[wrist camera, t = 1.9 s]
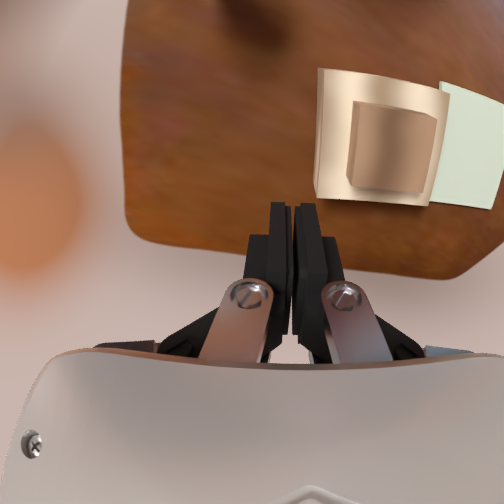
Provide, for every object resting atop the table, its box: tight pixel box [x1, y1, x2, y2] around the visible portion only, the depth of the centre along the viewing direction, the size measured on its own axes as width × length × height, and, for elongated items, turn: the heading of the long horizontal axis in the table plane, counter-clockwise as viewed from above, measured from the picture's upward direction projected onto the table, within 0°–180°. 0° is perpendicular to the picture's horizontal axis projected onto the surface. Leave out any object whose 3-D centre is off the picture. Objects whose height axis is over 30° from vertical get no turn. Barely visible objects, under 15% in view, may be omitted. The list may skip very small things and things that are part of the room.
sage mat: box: [429, 81, 504, 209], centre depth 24 cm, size 12×14×1 cm
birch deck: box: [313, 68, 450, 206], centre depth 24 cm, size 12×12×4 cm
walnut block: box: [346, 101, 438, 193], centre depth 21 cm, size 7×7×2 cm
